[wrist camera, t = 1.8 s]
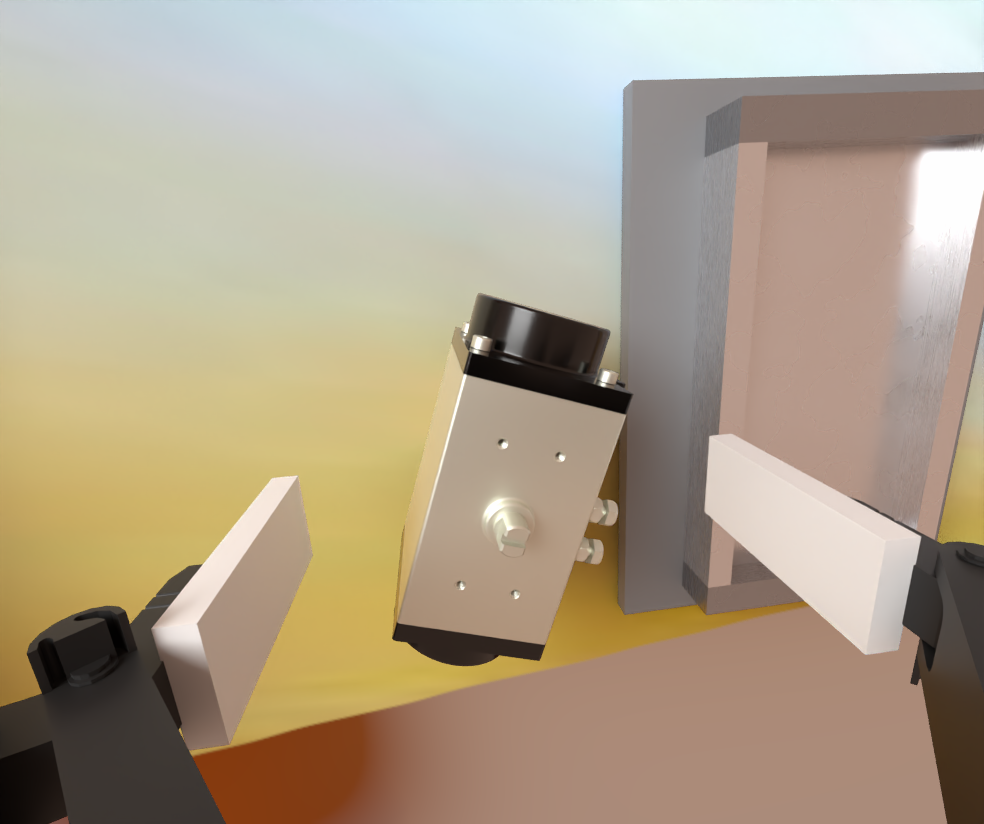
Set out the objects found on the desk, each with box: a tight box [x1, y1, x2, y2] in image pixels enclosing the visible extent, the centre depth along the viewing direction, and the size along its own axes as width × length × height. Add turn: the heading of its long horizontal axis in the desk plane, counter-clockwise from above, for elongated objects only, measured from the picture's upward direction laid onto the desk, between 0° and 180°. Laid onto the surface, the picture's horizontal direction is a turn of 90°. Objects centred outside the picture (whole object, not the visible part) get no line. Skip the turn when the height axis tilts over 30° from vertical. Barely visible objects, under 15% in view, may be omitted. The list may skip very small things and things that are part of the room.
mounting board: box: [618, 72, 984, 615], centre depth 25 cm, size 19×26×1 cm
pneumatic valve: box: [392, 293, 634, 666], centre depth 19 cm, size 6×12×12 cm, turn 164°
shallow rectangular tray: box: [682, 89, 984, 615], centre depth 24 cm, size 12×23×2 cm, turn 4°
